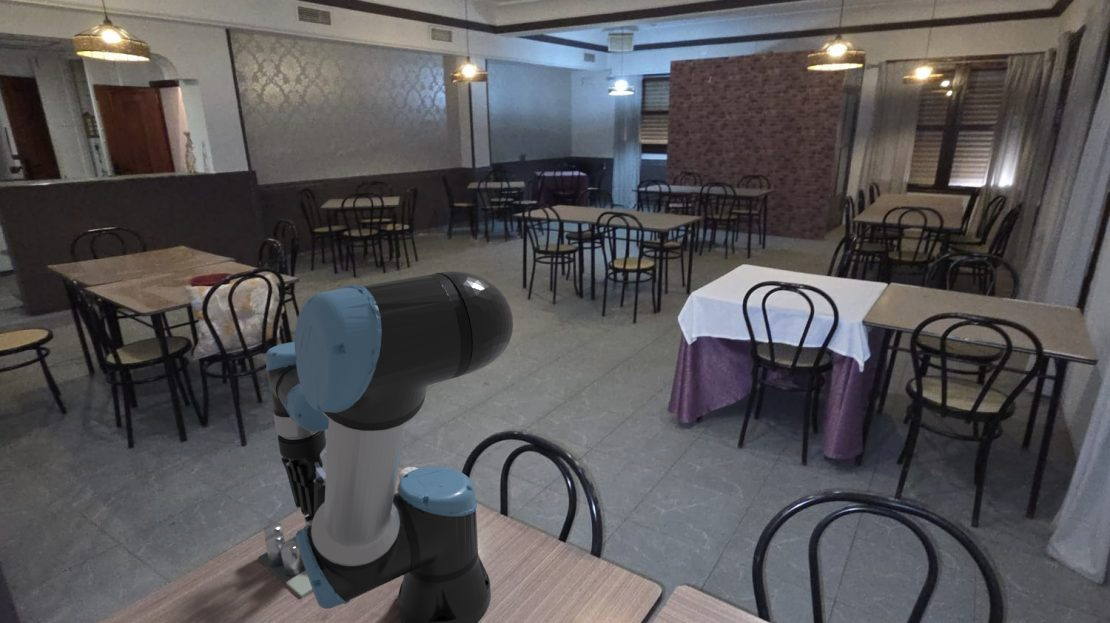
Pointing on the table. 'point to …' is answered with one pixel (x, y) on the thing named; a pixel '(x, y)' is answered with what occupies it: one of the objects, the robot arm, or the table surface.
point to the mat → (297, 582)
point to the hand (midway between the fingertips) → (317, 543)
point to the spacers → (282, 550)
